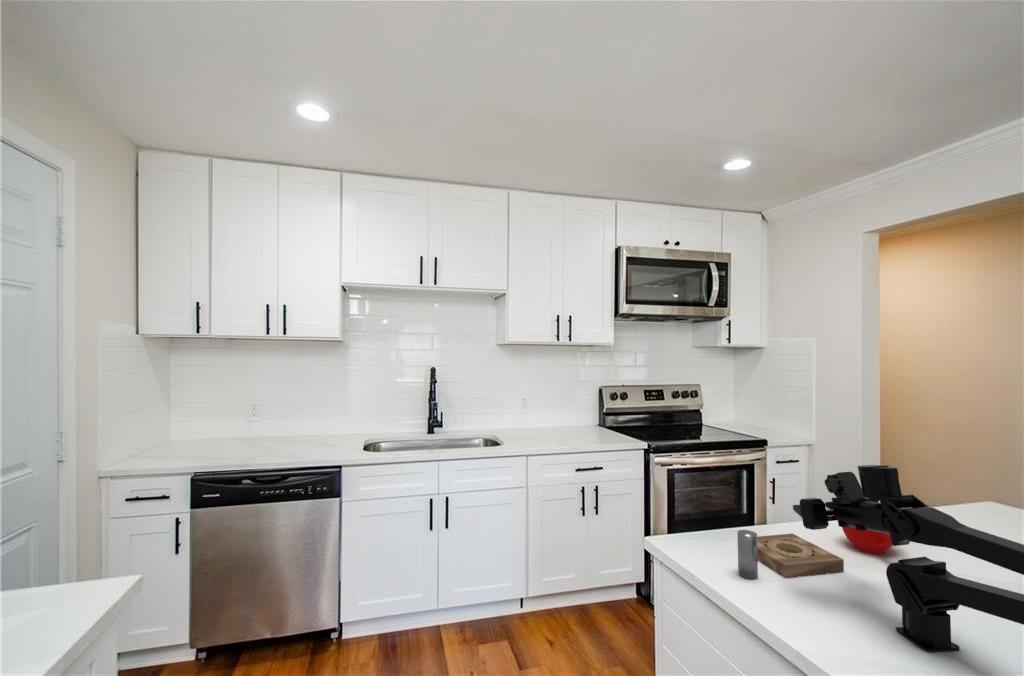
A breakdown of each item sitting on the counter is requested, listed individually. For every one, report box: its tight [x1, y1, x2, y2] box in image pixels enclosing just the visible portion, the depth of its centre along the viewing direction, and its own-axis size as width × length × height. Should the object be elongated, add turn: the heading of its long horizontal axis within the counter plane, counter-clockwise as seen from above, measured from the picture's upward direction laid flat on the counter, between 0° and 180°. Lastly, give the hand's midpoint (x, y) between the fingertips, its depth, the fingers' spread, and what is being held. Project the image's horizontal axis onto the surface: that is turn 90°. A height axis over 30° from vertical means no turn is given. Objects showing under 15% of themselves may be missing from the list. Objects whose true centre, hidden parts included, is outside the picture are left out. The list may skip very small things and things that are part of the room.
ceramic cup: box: [841, 526, 894, 555], centre depth 122 cm, size 13×17×10 cm
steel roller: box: [736, 529, 759, 581], centre depth 110 cm, size 4×4×10 cm
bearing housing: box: [757, 533, 845, 579], centre depth 118 cm, size 16×16×3 cm
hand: (809, 505), depth 110 cm, fingers open, 9 cm apart
